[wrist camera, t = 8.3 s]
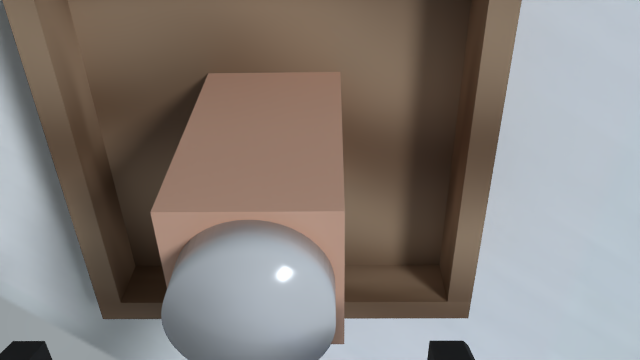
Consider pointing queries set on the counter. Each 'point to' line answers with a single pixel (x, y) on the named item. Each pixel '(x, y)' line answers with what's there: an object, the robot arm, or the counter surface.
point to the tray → (278, 57)
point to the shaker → (256, 220)
